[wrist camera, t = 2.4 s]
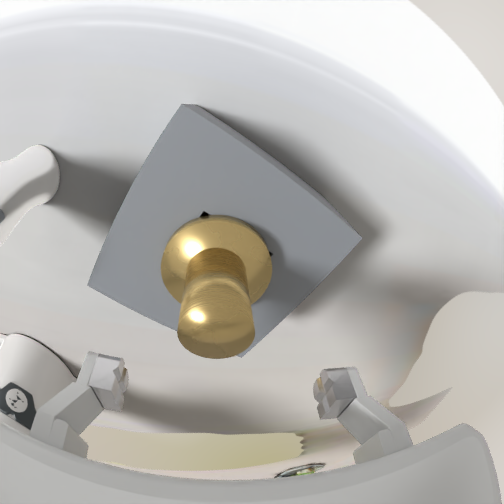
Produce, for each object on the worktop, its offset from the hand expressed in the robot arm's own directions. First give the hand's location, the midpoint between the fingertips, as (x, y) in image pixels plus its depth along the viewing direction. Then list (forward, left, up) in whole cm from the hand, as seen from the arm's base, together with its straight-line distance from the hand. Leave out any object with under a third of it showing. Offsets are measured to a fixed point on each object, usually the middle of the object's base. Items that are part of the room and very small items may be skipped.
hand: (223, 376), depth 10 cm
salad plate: (-70, -80, -17) cm, 108 cm away
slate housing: (0, 0, -17) cm, 17 cm away
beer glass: (-6, +18, -17) cm, 25 cm away
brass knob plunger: (0, 0, -17) cm, 17 cm away
